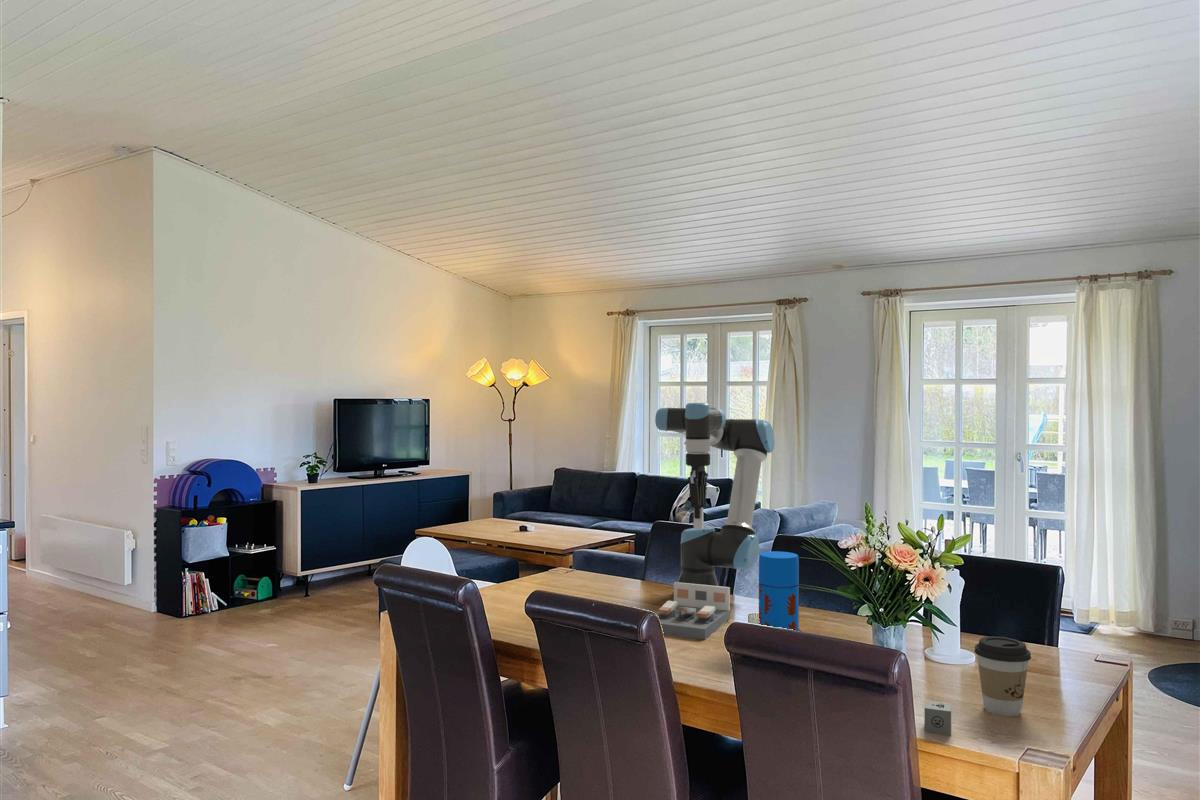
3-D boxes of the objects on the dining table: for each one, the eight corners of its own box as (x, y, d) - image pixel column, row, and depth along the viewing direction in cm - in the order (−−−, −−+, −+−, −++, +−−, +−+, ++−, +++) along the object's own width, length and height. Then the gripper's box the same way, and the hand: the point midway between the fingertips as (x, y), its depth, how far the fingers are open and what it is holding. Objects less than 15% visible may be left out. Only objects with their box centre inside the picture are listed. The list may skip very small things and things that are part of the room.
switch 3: (705, 609, 254) (705, 605, 254) (715, 610, 253) (715, 606, 253) (696, 617, 247) (696, 612, 247) (706, 618, 246) (706, 614, 245)
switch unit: (674, 613, 269) (674, 581, 269) (729, 619, 261) (729, 587, 261) (646, 632, 247) (646, 597, 247) (705, 639, 239) (705, 604, 239)
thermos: (796, 640, 239) (796, 551, 239) (801, 651, 229) (801, 558, 229) (757, 638, 240) (757, 550, 240) (760, 650, 230) (760, 558, 230)
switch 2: (686, 611, 256) (686, 607, 257) (695, 612, 255) (696, 608, 255) (677, 610, 249) (677, 606, 250) (687, 612, 248) (687, 607, 248)
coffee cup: (1005, 723, 178) (1005, 652, 178) (962, 705, 188) (962, 638, 188) (1043, 715, 182) (1043, 646, 182) (999, 698, 193) (999, 632, 193)
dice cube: (950, 736, 171) (950, 711, 171) (924, 732, 173) (924, 707, 173) (951, 727, 176) (951, 703, 176) (925, 723, 178) (925, 699, 178)
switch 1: (668, 604, 259) (668, 600, 259) (677, 605, 258) (677, 601, 258) (658, 613, 252) (658, 609, 252) (668, 614, 251) (667, 610, 251)
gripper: (692, 450, 269) (693, 524, 270) (679, 454, 257) (680, 531, 258) (715, 451, 266) (716, 525, 267) (703, 454, 254) (703, 532, 255)
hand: (698, 528), depth 262 cm, fingers closed
